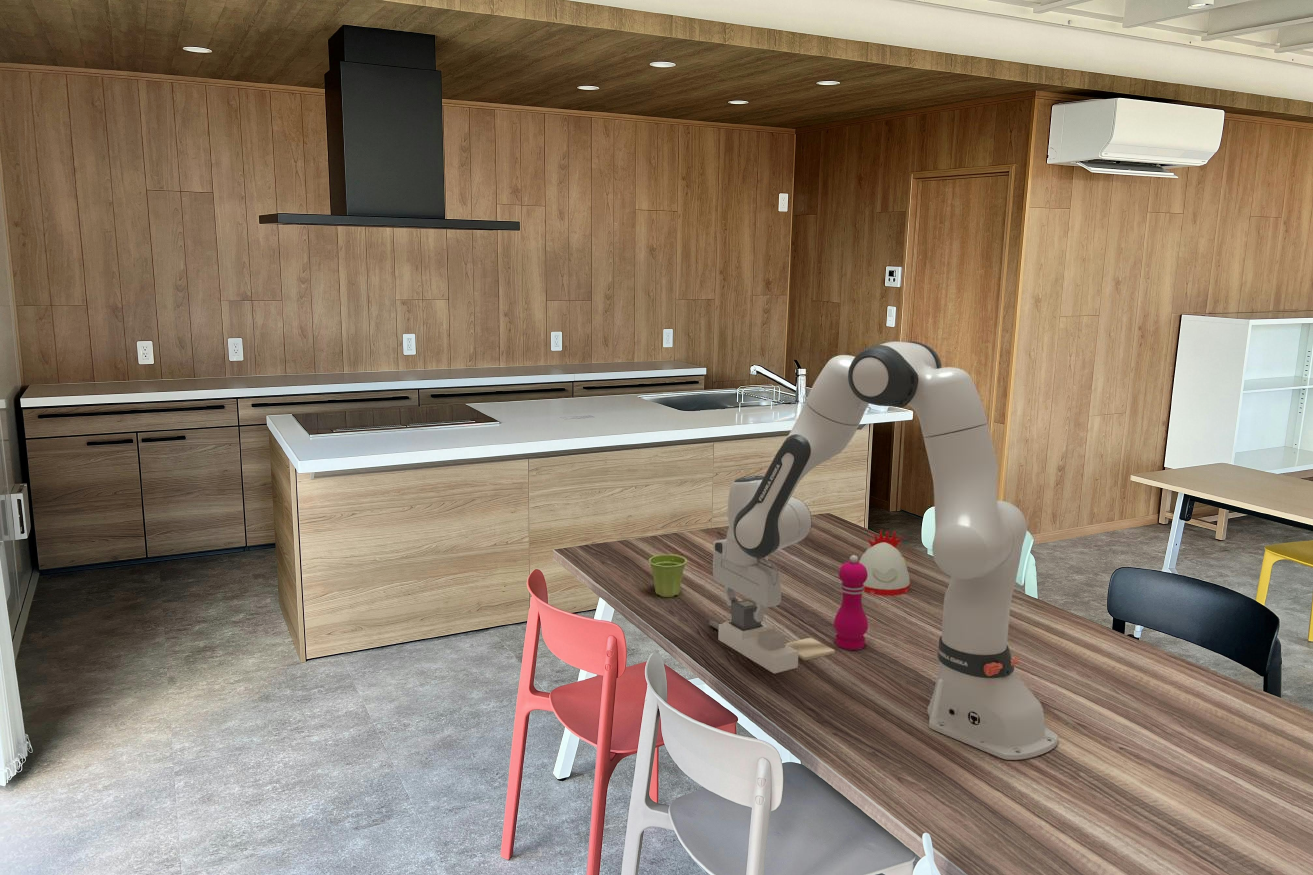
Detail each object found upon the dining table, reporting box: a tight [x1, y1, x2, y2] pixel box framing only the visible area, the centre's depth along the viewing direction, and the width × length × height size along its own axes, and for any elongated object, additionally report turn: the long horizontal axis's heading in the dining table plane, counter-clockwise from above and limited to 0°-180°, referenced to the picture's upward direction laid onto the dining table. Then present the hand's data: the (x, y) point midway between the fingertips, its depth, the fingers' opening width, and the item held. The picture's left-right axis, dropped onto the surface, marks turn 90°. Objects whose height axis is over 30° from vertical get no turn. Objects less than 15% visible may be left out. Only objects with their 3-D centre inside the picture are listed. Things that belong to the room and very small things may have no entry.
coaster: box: [785, 637, 836, 661], centre depth 195 cm, size 8×8×1 cm
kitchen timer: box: [858, 529, 911, 597], centre depth 235 cm, size 14×14×15 cm
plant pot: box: [648, 554, 688, 598], centre depth 229 cm, size 9×9×9 cm
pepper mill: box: [833, 554, 869, 651], centre depth 197 cm, size 7×7×20 cm
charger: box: [730, 598, 762, 631], centre depth 196 cm, size 4×4×6 cm
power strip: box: [709, 620, 799, 674], centre depth 196 cm, size 28×7×6 cm, turn 30°
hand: (745, 613), depth 196 cm, fingers open, 8 cm apart
